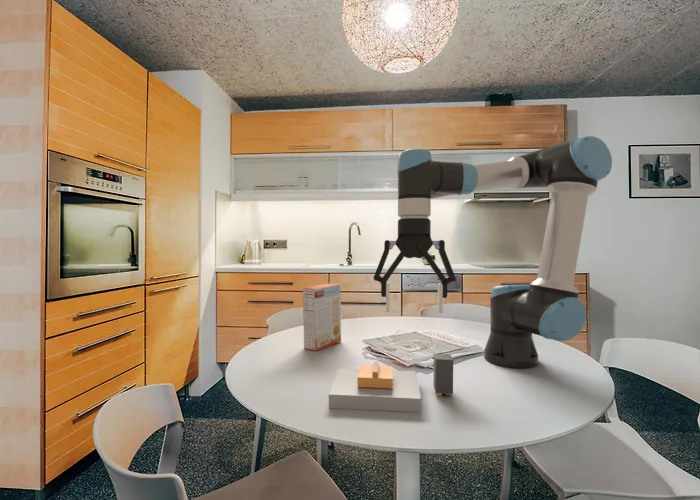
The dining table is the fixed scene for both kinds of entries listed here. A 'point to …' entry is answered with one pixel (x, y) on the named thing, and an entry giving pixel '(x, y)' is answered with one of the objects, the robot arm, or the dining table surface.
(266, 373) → the dining table surface
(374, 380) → the orange ridged block
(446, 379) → the plug
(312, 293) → the cracker box
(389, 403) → the socket plate
